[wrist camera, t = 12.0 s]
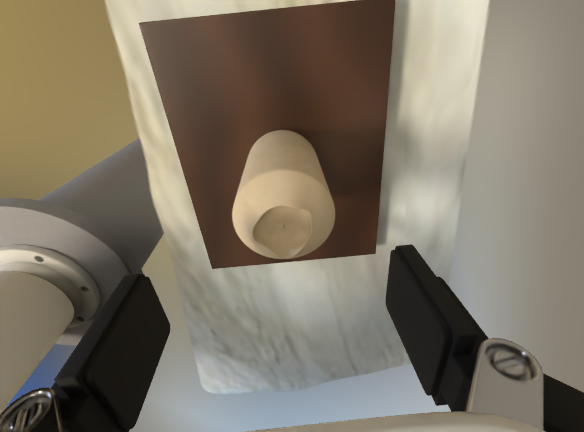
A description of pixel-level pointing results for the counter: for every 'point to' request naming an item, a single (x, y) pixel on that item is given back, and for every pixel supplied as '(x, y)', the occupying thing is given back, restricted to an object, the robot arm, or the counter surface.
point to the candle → (283, 198)
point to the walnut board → (278, 109)
